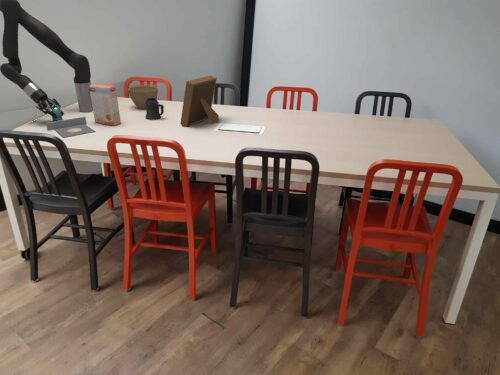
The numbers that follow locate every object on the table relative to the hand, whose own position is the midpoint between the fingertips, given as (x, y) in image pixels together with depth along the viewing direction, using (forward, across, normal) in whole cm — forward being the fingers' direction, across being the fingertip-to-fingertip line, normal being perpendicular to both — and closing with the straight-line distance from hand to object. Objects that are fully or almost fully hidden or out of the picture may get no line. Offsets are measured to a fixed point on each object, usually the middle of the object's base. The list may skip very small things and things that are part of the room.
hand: (59, 116), depth 206 cm
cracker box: (+20, +7, -14) cm, 26 cm away
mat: (+13, -10, -8) cm, 18 cm away
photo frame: (+57, +21, -50) cm, 78 cm away
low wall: (+8, -5, -2) cm, 9 cm away
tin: (+2, 0, +4) cm, 5 cm away
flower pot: (+24, +44, -17) cm, 53 cm away
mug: (+35, +23, -29) cm, 51 cm away
